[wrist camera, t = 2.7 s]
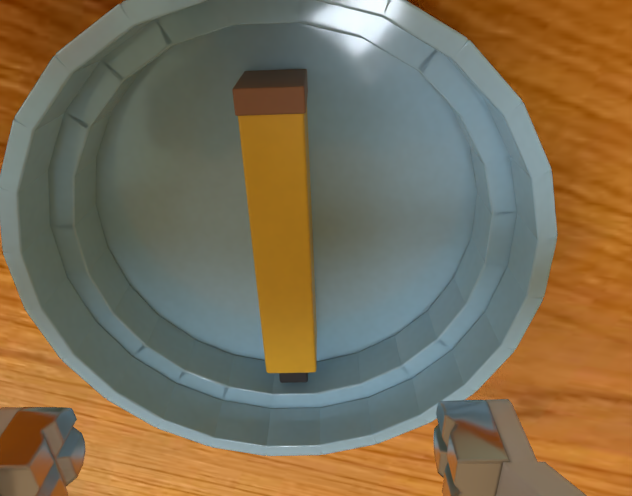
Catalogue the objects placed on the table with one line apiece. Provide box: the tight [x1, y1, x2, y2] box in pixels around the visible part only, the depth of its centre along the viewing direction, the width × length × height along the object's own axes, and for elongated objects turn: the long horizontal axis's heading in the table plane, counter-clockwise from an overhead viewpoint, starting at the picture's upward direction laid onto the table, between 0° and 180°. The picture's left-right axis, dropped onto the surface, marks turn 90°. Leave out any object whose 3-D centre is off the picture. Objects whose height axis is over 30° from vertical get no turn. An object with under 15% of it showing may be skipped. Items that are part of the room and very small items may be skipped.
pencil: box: [232, 69, 317, 383], centre depth 19 cm, size 12×2×3 cm, turn 2°
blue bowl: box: [0, 0, 557, 456], centre depth 18 cm, size 17×17×4 cm
